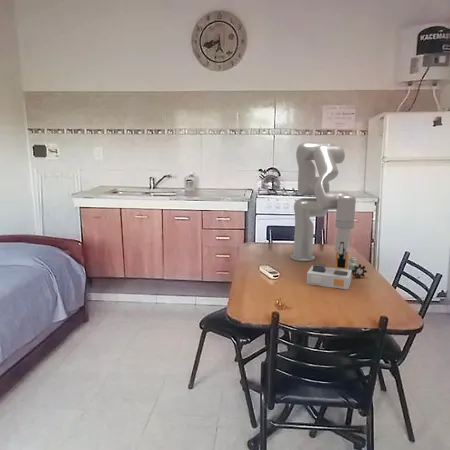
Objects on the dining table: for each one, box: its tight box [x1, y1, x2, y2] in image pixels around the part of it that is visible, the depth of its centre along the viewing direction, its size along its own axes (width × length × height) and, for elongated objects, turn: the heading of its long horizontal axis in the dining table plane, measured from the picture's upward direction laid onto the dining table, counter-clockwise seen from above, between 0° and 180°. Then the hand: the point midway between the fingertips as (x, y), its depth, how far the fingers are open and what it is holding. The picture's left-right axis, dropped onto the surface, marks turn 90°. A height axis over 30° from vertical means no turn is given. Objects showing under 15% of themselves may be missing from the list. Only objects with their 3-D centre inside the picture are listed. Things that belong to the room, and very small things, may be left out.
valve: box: [347, 257, 368, 279], centre depth 202 cm, size 7×7×12 cm
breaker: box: [313, 262, 326, 273], centre depth 191 cm, size 4×4×4 cm
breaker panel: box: [306, 264, 353, 291], centre depth 190 cm, size 12×18×5 cm
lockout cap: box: [334, 250, 350, 270], centre depth 186 cm, size 5×5×7 cm
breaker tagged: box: [335, 271, 347, 276], centre depth 188 cm, size 4×4×4 cm
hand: (341, 265), depth 187 cm, fingers closed on lockout cap, 4 cm apart
